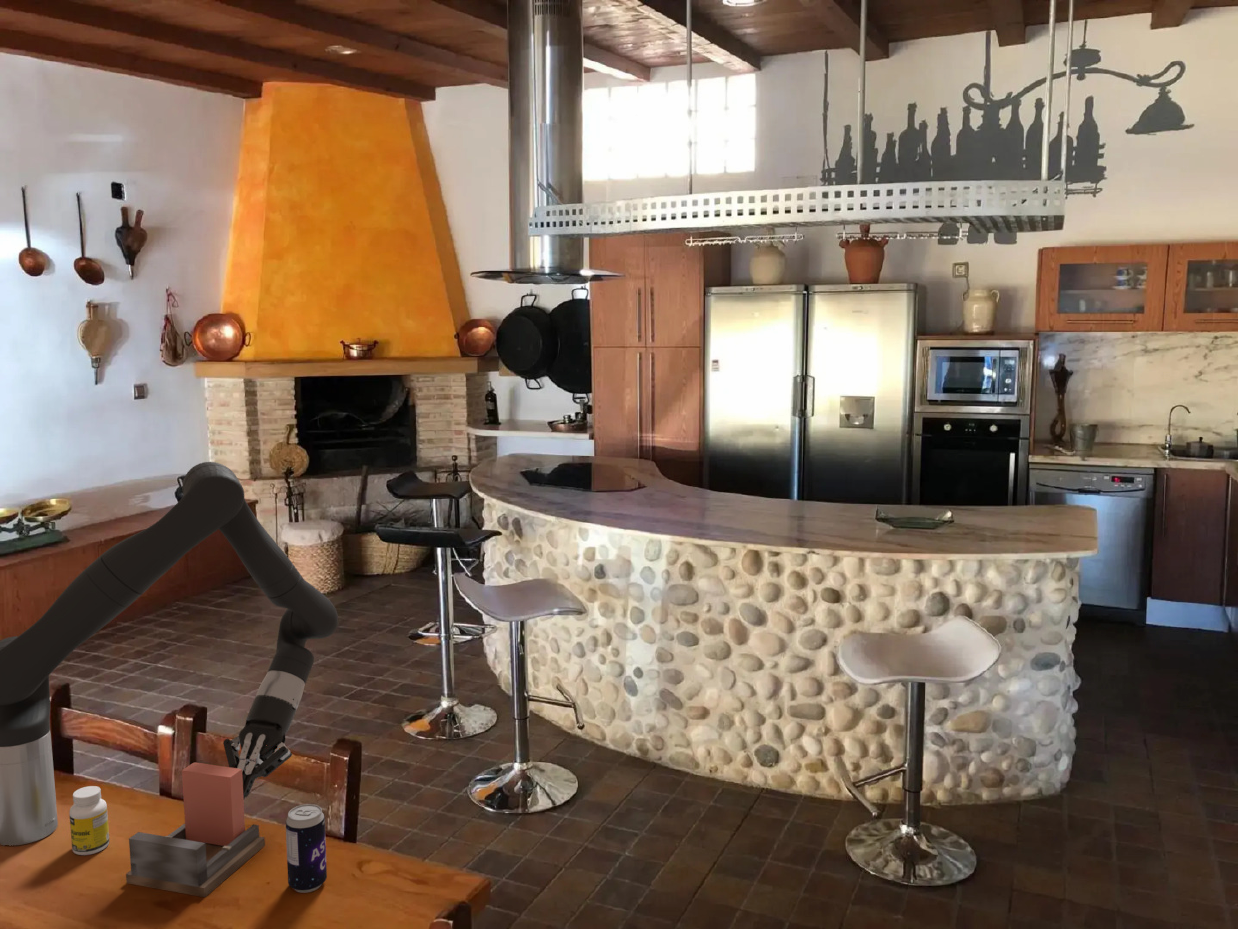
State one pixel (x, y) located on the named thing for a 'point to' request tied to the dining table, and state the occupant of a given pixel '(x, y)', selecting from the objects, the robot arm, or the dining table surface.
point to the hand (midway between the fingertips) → (237, 798)
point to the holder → (188, 860)
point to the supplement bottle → (88, 821)
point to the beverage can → (306, 848)
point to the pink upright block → (213, 803)
